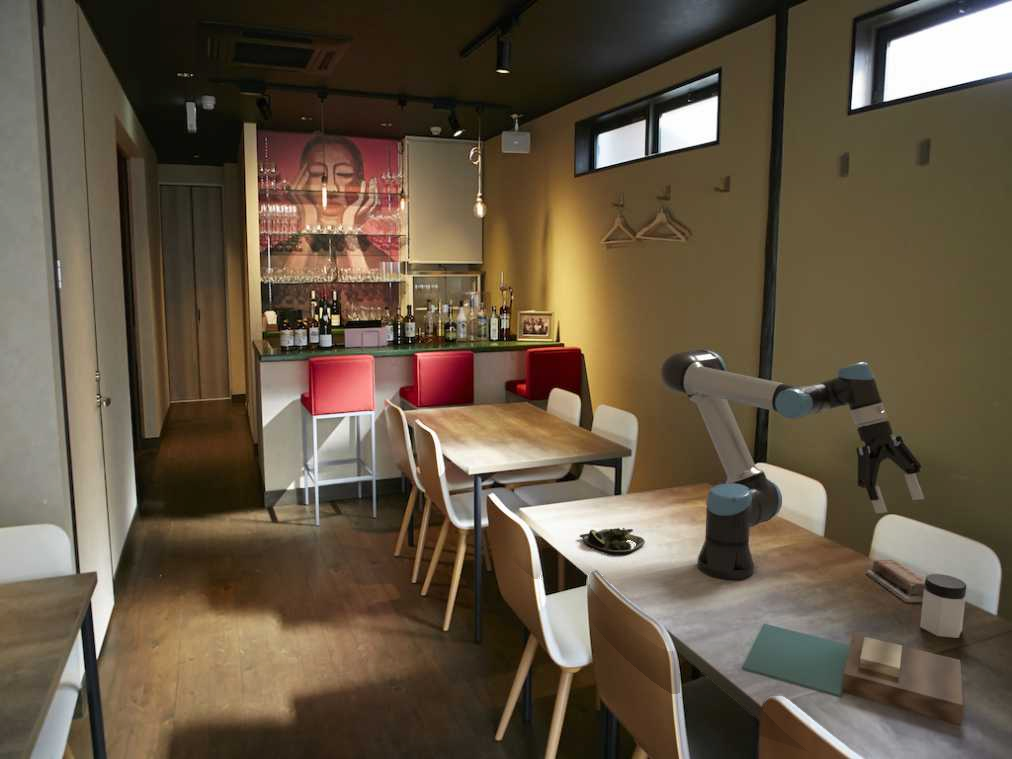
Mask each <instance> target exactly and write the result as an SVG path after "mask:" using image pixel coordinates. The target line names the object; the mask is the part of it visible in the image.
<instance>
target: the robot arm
mask: <svg viewBox="0 0 1012 759" xmlns="http://www.w3.org/2000/svg"><path fill="white" fill-rule="evenodd" d="M660 377H661V380H662V382H663V384H664V385H665V386H666V387H667V388H668V389H669V390H671V391H673V392H678V393H681V394H686V395H687V397H688V398H689V400H690V401H692V402H694V403H695V404H696V405H697V407H698V410H699V412H700V414H701V417H702V420H703V422H704V424H705V426H706V429H707V431H708V434H709V436H710V438H711V441H712V443H713V446H714V448H715V451H716V453H717V456H718V458H719V461H720V462H721V463H720V464H722V467H723V470H724V472H725V474H726V477H727V478H726V481H725V483H719V484H716V485H713V487H711V488H710V489H709V491H708V493H707V497H706V498H707V499H706V503H705V504H706V514H705V515H706V518H705V538H704V542H703V544H702V546H701V550H700V551H699V554H698V556H697V569H698V570H699V571H701V572H702V573H704V574H706V575H707V576H711V577H713V578H718V579H723V580H731V581H732V580H733V581H734V580H744V579H749V578H750V577H752V576H753V575H754V573H755V572H754V571H755V570H754V569H755V564H754V559H753V556H752V552H751V550H750V545H749V542H750V541H749V540H750V528H753V527H755V526H757V525H760V524H762V523H766V522H768V521H770V520H771V519H773V518H774V517H776V515H778V513H780V511H781V508H782V506H783V505H782V504H783V494H782V493H781V490H780V488H779V487H778V485H777V484H776V483H775V482H774V481H772V480H770V479H768V478H767V476H766V474H765V472H764V470H762V469H760V468H758V467H757V466H756V464H755V462H754V460H753V457H752V455H751V452H750V450H749V448H748V446H747V443H746V441H745V438H744V436H743V434H742V431H741V430H740V428H739V425H738V422H737V420H736V418H735V415H734V412H733V411H732V408H731V406H730V404H729V401H730V402H731V401H732V402H735V403H739V404H743V405H748V406H752V407H755V408H760V409H764V410H769V411H772V412H777V413H779V414H780V415H781V416H782V417H784V418H786V419H791V420H792V419H801V418H803V417H807V416H809V415H814V414H815V415H816V414H820V413H823V412H826V411H830V410H833V409H837V408H840V407H843V406H848V407H849V408H850V409H849V410H850V413H851V416H852V419H853V421H854V424H855V426H858V427H857V429H856V430H857V433H858V436H859V440H860V441H861V442H864V444H865V445H863V446H858V447H856V449H855V450H856V454H857V486H858V487H859V488H860V487H861V488H862V489H866V491H867V494H868V495H867V496H868V498H869V499H870V501H871V502H872V505H873V506H872V507H873V508H874V511H875V514H884V513H888V510H887V509H888V508H887V506H886V504H885V501H884V497H883V494H882V491H881V489H880V486H879V485H876V484H877V478H878V474H879V469H880V465H881V463H882V462H883V460H886V459H889V460H891V461H892V462H893V463H894V464H895V465H896V466H898V467H899V468H900V469H901V470H902V471H903V472H905V474H904V476H903V477H904V479H905V482H906V484H907V487H908V490H909V493H910V496H911V498H912V501H918V500H924V499H925V497H924V496H925V495H924V494H923V491H922V488H921V482H920V479H919V475H918V474H917V473H920V471H921V467H922V465H921V464H920V462H919V461H918V459H917V458H916V457H915V456H914V454H913V453H912V452H911V451H910V449H909V448H908V447H907V445H906V443H905V442H904V440H903V438H902V436H901V435H896V436H892V435H893V433H894V431H893V429H892V426H891V423H890V421H889V420H886V419H887V418H888V414H887V412H886V410H885V407H884V403H883V400H882V398H881V396H880V395H881V394H880V392H879V391H880V390H879V388H878V385H877V382H876V380H875V379H876V377H875V376H874V374H873V372H872V370H871V367H870V365H869V363H867V362H864V361H862V362H861V361H860V362H857V363H853V364H850V365H847V366H844V367H841V368H838V370H837V377H834V378H832V379H828V380H824V381H821V382H817V383H812V384H806V385H801V386H797V385H791V384H787V383H786V384H785V383H784V382H783V383H782V382H778V381H773V380H768V379H763V378H758V377H754V376H749V375H745V374H739V373H736V372H735V373H734V372H731V371H727V366H726V364H725V361H724V359H723V358H722V356H720V355H719V354H718V353H717V352H714V351H712V350H707V349H706V350H705V349H696V350H692V351H684V352H683V351H682V352H677V353H673V354H671V355H669V356H668V357H667V358H665V360H664V361H663V363H662V365H661V368H660ZM891 436H892V437H891Z"/></svg>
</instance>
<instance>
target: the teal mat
mask: <svg viewBox="0 0 1012 759" xmlns="http://www.w3.org/2000/svg"><path fill="white" fill-rule="evenodd" d="M849 648H850V644H847V643H844V642H839V641H836V640H832V639H828V638H824V637H819V636H816V635H813V634H807V633H803V632H798V631H796V630H791V629H789V628H788V629H787V628H783V627H780V626H776V625H775V626H774V625H771V624H767V623H763V624H762V627H761V628H760V630H759V632H758V634H757V637H756V639H755V640H754V642H753V644H752V647H751V649H750V651H749V653H748V654H747V656H746V658H745V660H744V662H743V664H742V667H741V669H742V670H746V671H748V672H752V673H756V674H759V675H763V676H766V677H770V678H774V679H777V680H779V681H780V680H781V681H784V682H787V683H791V684H794V685H798V686H802V687H804V688H808V689H813V690H815V691H819V692H822V693H826V694H829V695H834V696H837V697H842V693H843V692H842V687H843V675H844V670H845V665H846V661H847V657H848V653H849Z"/></svg>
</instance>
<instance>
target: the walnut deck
mask: <svg viewBox="0 0 1012 759" xmlns="http://www.w3.org/2000/svg"><path fill="white" fill-rule="evenodd" d="M864 637H865V636H861V635H857V634H852V636H851V641H850V644H849V645H850V648H849V653H848V657H847V661H846V665H845V670H844V675H843V687H842V693H845V694H849V695H852V696H855V697H859V698H864V699H866V700H870V701H874V702H876V703H877V702H878V703H881V704H884V705H887V706H892V707H896V708H899V709H902V710H906V711H910V712H912V713H913V712H914V713H917V714H920V715H924V716H928V717H932V718H934V719H938V720H941V721H945V722H949V723H952V724H956V725H961V724H962V716H963V708H964V702H963V687H962V686H963V685H962V671H961V669H962V667H961V659H956V658H953V657H949V656H944V655H940V654H936V653H933V652H928V651H924V650H920V649H915V648H911V647H907V646H903V645H901V646H902V652H901V662H900V673H899V678H898V677H894V676H891V675H887V674H883V673H879V672H875V671H871V670H868V669H864V668H860V657H861V652H862V647H863V642H864ZM961 726H962V725H961Z"/></svg>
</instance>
